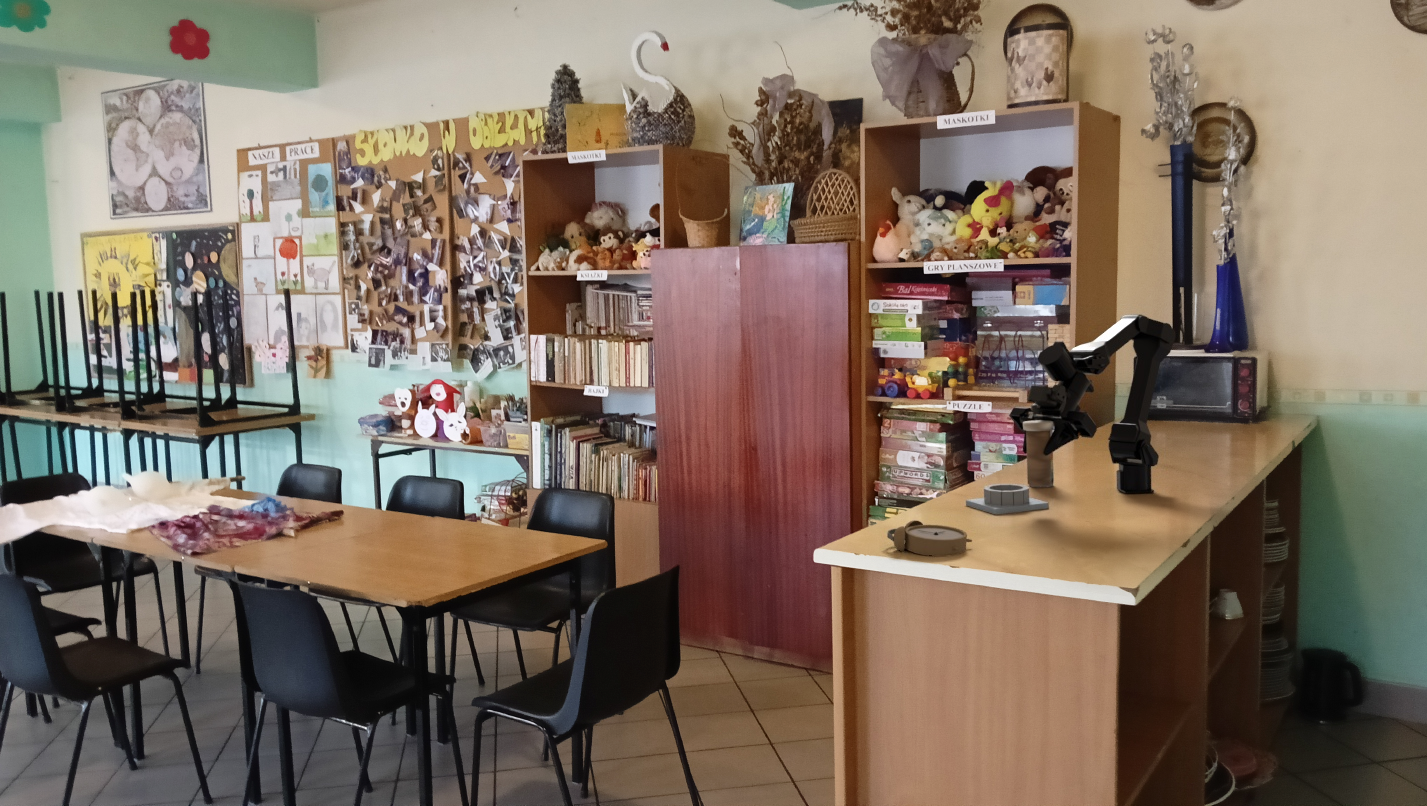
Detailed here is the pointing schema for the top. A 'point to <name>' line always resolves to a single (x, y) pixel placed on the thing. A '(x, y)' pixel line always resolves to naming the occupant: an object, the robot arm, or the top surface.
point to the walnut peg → (1038, 452)
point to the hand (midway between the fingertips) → (1034, 453)
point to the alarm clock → (929, 539)
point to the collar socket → (1006, 499)
